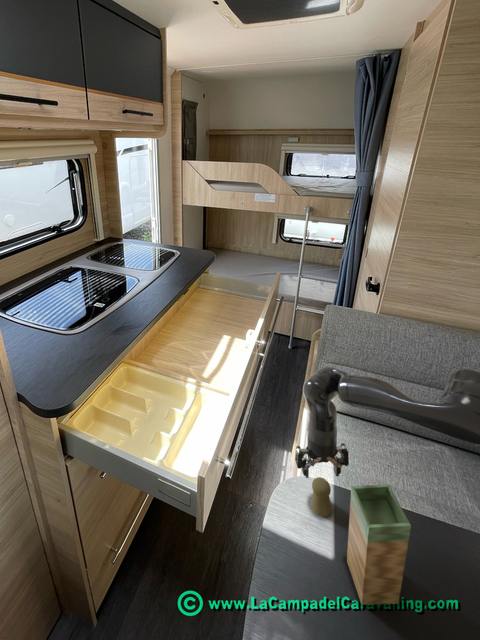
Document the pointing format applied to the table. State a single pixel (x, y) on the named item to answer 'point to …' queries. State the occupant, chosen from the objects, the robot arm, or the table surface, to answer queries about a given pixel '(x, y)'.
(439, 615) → the table surface
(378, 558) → the box
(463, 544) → the table surface
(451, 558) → the table surface
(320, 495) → the cork
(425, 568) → the table surface
